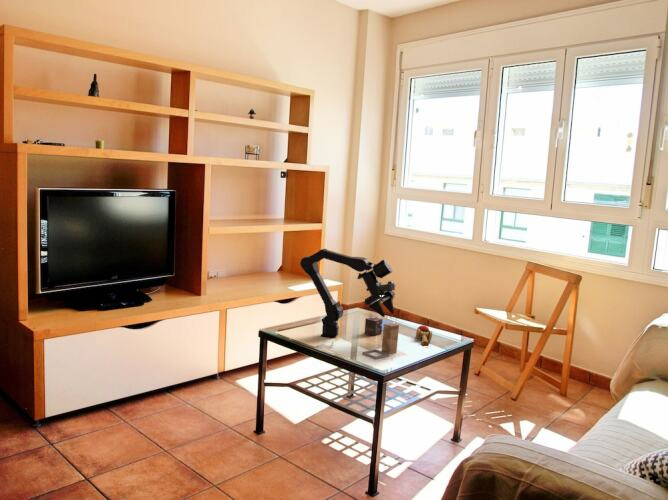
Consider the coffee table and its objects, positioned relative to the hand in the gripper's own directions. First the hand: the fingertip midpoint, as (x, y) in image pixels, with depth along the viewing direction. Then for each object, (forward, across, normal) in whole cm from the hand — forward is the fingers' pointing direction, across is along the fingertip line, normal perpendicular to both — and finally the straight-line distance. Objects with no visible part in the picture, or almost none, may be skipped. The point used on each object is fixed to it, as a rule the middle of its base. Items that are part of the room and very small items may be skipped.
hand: (388, 315), depth 250 cm
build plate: (+14, -12, +5) cm, 20 cm away
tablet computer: (+1, +30, +23) cm, 38 cm away
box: (+3, +14, +20) cm, 25 cm away
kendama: (+17, +21, +1) cm, 27 cm away
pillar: (+14, -9, +4) cm, 17 cm away
